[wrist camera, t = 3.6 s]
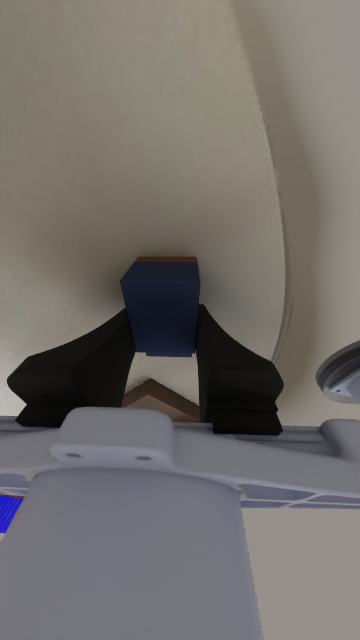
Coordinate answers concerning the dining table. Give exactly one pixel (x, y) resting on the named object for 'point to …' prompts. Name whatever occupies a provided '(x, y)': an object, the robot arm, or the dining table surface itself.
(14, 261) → the dining table surface
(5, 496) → the house
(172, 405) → the shelf
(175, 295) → the navy block wooden base
